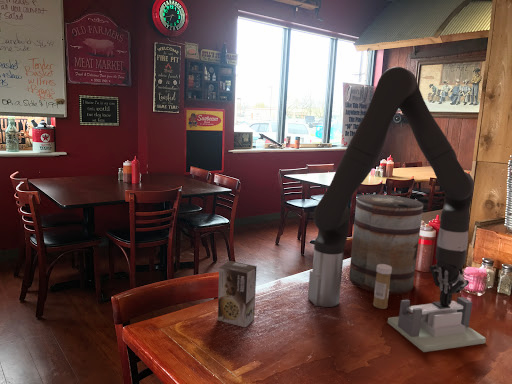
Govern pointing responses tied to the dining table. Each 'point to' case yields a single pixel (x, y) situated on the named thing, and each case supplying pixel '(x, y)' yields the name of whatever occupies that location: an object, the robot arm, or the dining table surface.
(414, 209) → the barrel
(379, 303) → the sprinkles bottle
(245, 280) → the coffee box
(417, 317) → the board
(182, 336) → the dining table surface
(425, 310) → the clamp bar
